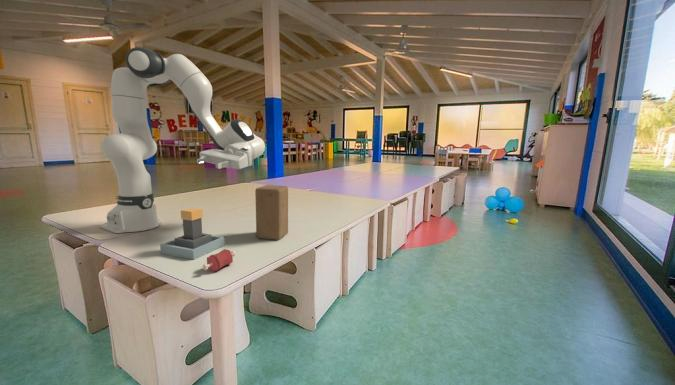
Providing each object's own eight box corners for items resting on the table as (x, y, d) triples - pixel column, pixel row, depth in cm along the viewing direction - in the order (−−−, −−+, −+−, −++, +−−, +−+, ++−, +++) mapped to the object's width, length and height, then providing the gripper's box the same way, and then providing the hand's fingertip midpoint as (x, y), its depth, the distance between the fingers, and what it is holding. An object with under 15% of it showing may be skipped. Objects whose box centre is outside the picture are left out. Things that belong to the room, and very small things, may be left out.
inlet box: (160, 253, 93) (159, 240, 92) (194, 239, 106) (193, 228, 105) (193, 259, 89) (192, 246, 88) (224, 245, 102) (224, 233, 101)
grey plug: (183, 250, 96) (180, 210, 93) (194, 245, 100) (191, 207, 98) (193, 252, 94) (191, 211, 92) (204, 247, 99) (202, 208, 96)
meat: (212, 275, 77) (207, 258, 77) (199, 276, 79) (195, 260, 79) (242, 259, 88) (238, 244, 88) (230, 261, 90) (226, 246, 90)
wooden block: (279, 241, 108) (279, 189, 104) (255, 238, 110) (254, 188, 106) (289, 233, 117) (288, 185, 114) (266, 231, 119) (266, 184, 116)
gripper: (214, 143, 117) (186, 151, 106) (253, 151, 110) (226, 160, 98) (217, 157, 120) (189, 167, 109) (254, 166, 112) (229, 177, 101)
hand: (207, 164), depth 103 cm, fingers open, 8 cm apart
